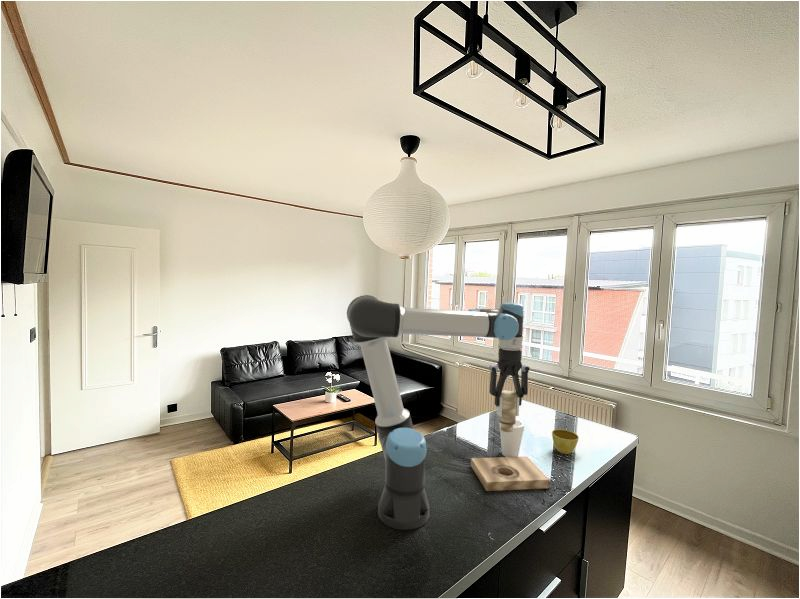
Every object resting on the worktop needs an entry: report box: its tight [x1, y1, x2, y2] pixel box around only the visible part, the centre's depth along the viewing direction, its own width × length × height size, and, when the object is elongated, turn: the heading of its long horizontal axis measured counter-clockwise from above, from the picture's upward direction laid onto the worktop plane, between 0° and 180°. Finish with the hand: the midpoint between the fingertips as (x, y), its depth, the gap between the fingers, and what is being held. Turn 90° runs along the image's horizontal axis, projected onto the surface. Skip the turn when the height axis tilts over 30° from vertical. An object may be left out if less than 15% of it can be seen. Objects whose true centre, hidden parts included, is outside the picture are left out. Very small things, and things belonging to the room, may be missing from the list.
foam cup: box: [498, 418, 525, 457], centre depth 148 cm, size 10×9×13 cm
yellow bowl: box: [551, 428, 580, 455], centre depth 152 cm, size 10×10×7 cm
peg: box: [498, 389, 517, 432], centre depth 127 cm, size 6×6×13 cm
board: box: [470, 455, 550, 492], centre depth 131 cm, size 22×16×3 cm
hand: (507, 414), depth 127 cm, fingers closed on peg, 5 cm apart
